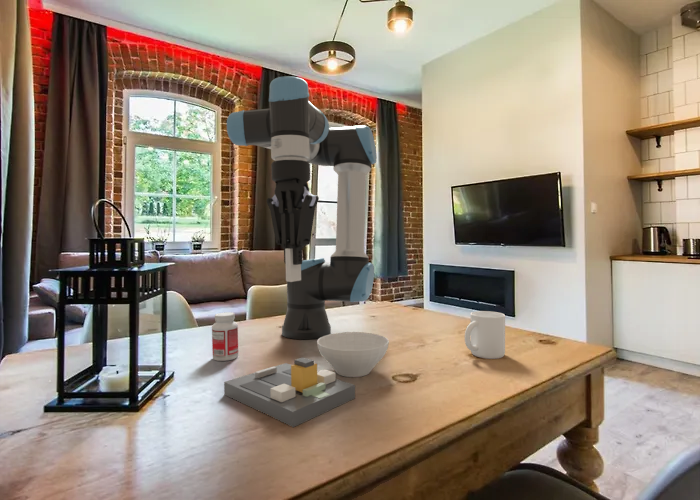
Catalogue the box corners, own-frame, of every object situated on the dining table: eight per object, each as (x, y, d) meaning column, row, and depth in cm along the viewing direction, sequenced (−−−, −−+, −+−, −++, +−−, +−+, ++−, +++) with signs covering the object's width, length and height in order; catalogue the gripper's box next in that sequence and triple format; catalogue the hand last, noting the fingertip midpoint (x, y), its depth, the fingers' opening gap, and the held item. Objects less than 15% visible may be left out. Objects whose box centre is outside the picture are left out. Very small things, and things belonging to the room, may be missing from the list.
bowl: (366, 390, 78) (366, 354, 78) (302, 375, 87) (302, 343, 86) (400, 367, 92) (400, 337, 91) (342, 356, 100) (342, 329, 100)
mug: (478, 363, 94) (478, 320, 94) (452, 355, 101) (452, 314, 101) (512, 356, 100) (512, 315, 99) (486, 348, 107) (486, 309, 107)
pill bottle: (237, 353, 104) (236, 311, 104) (239, 360, 98) (238, 315, 98) (212, 355, 102) (211, 312, 101) (212, 362, 96) (211, 317, 96)
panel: (224, 394, 76) (224, 373, 76) (285, 374, 88) (285, 355, 87) (293, 427, 63) (292, 401, 63) (354, 398, 74) (354, 375, 74)
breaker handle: (291, 388, 72) (290, 360, 72) (306, 382, 75) (305, 356, 74) (302, 392, 70) (302, 364, 70) (317, 386, 73) (317, 359, 72)
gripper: (254, 162, 80) (258, 280, 81) (298, 154, 71) (302, 286, 73) (283, 166, 85) (286, 276, 87) (328, 159, 77) (330, 281, 78)
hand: (293, 280), depth 80 cm, fingers closed
